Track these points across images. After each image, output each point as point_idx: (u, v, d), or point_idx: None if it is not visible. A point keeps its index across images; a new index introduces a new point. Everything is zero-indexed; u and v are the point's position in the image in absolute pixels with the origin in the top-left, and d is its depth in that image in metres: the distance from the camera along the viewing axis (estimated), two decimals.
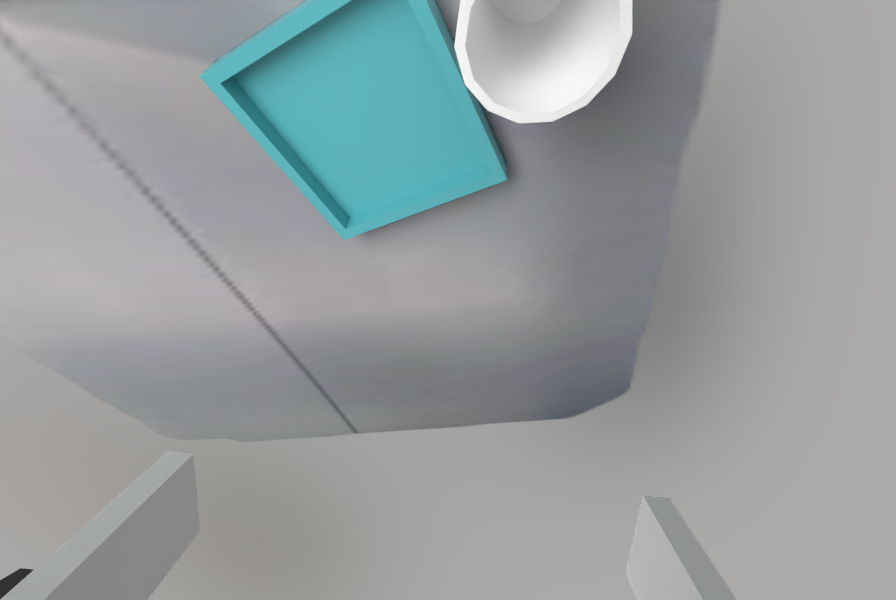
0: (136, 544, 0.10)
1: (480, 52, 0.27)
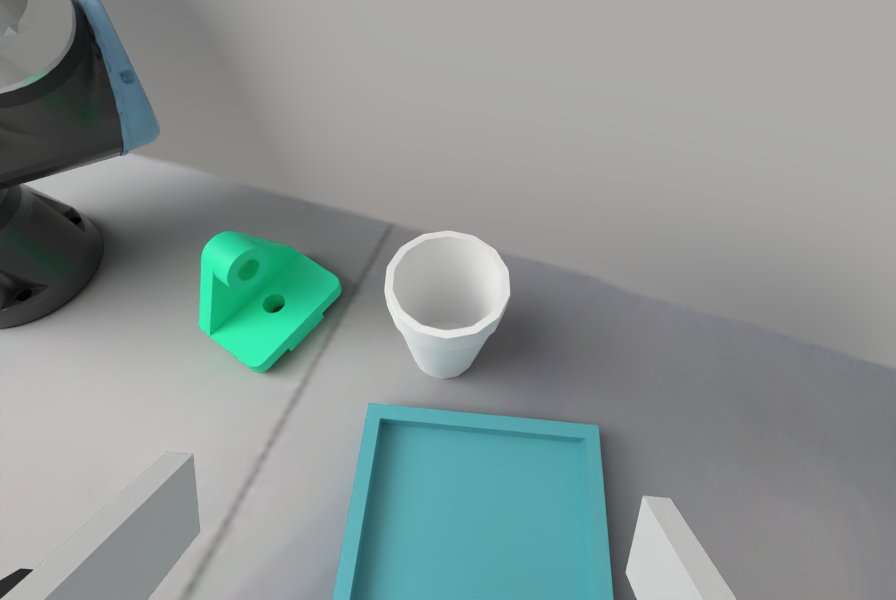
0: (136, 544, 0.10)
1: None
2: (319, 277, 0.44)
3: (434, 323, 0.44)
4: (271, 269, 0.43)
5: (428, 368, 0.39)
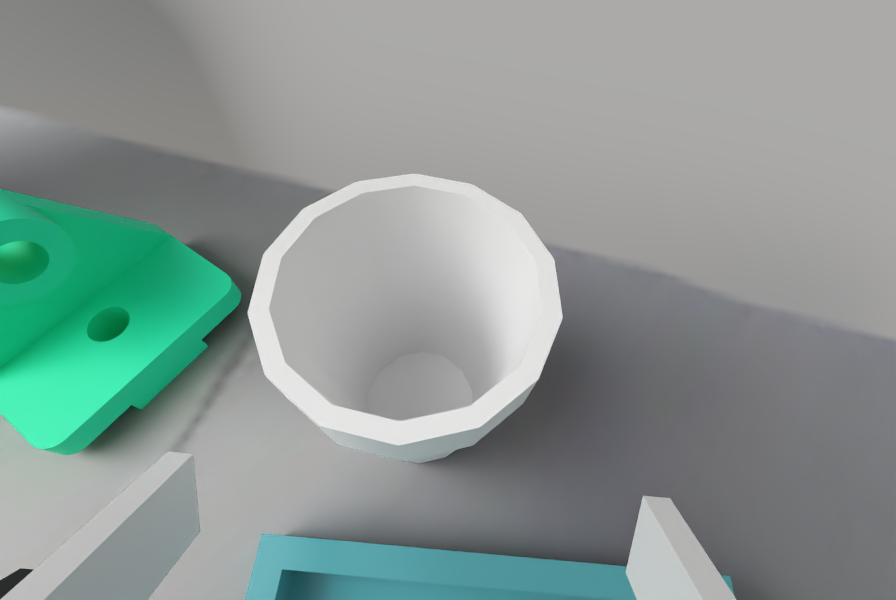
0: (136, 544, 0.10)
1: None
2: (198, 277, 0.25)
3: (404, 358, 0.25)
4: (107, 263, 0.24)
5: None
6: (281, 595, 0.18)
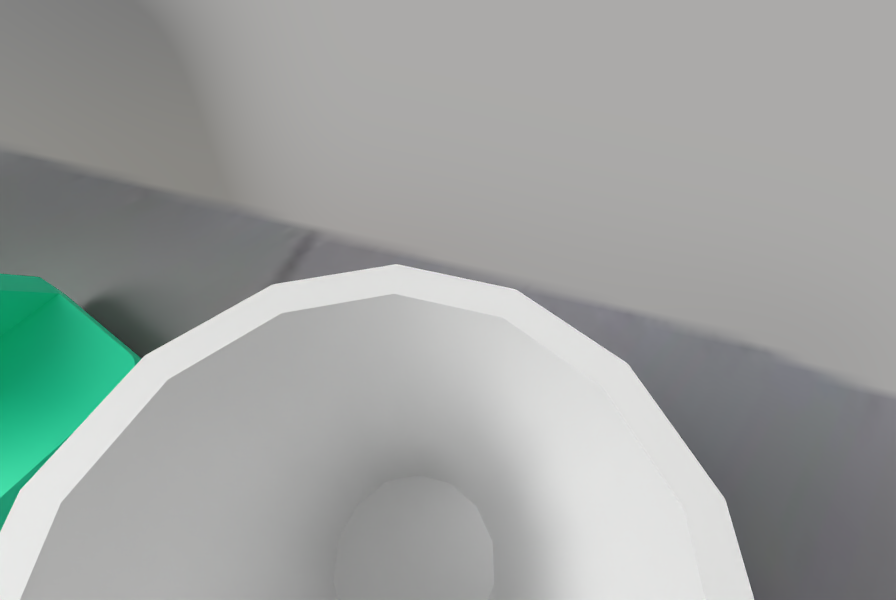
0: None
1: None
2: (87, 358, 0.18)
3: (391, 487, 0.17)
4: None
5: None
6: None
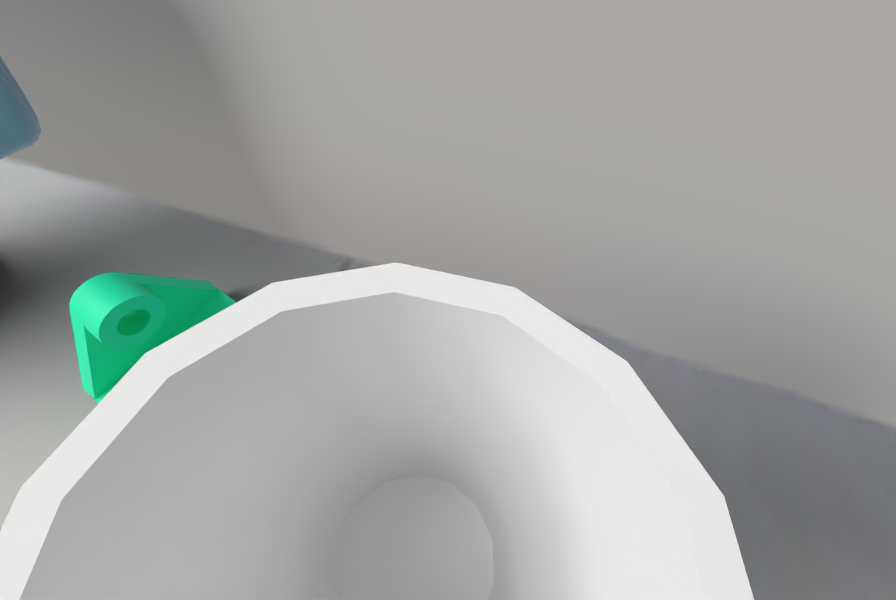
0: None
1: None
2: None
3: (391, 486, 0.17)
4: (178, 313, 0.35)
5: None
6: None
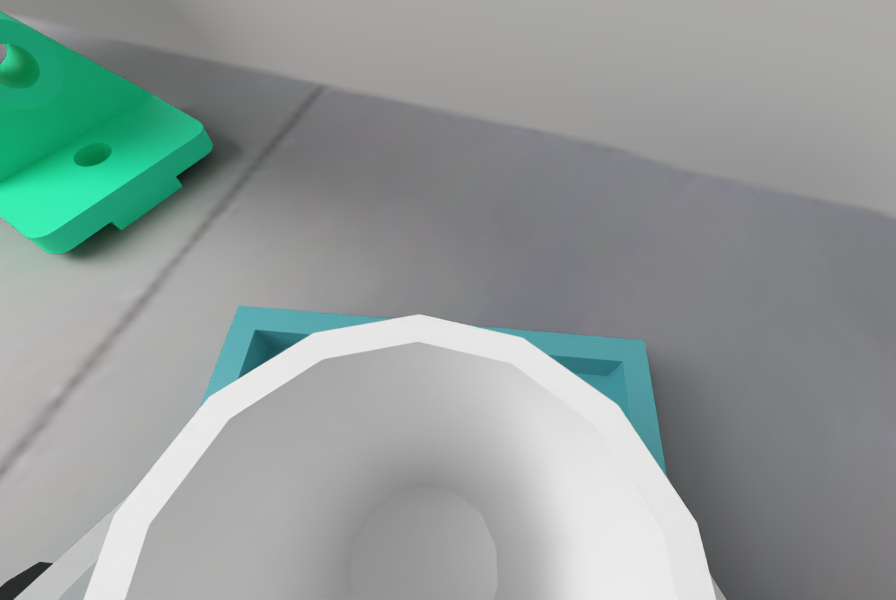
0: None
1: None
2: (173, 123, 0.29)
3: (401, 496, 0.18)
4: (92, 104, 0.28)
5: None
6: (254, 354, 0.21)
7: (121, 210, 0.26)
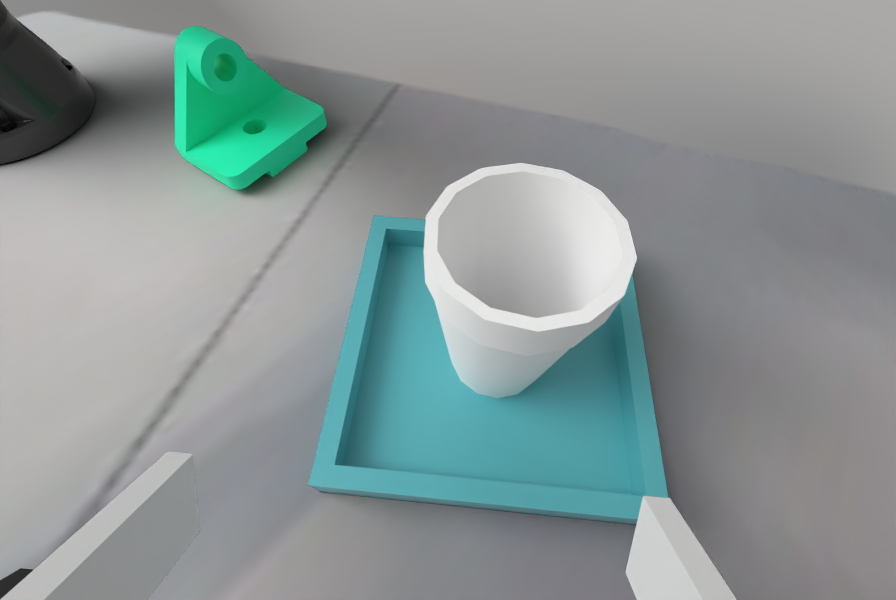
0: (136, 544, 0.10)
1: None
2: (303, 106, 0.42)
3: None
4: (252, 93, 0.41)
5: (480, 383, 0.26)
6: (385, 244, 0.33)
7: (275, 163, 0.40)
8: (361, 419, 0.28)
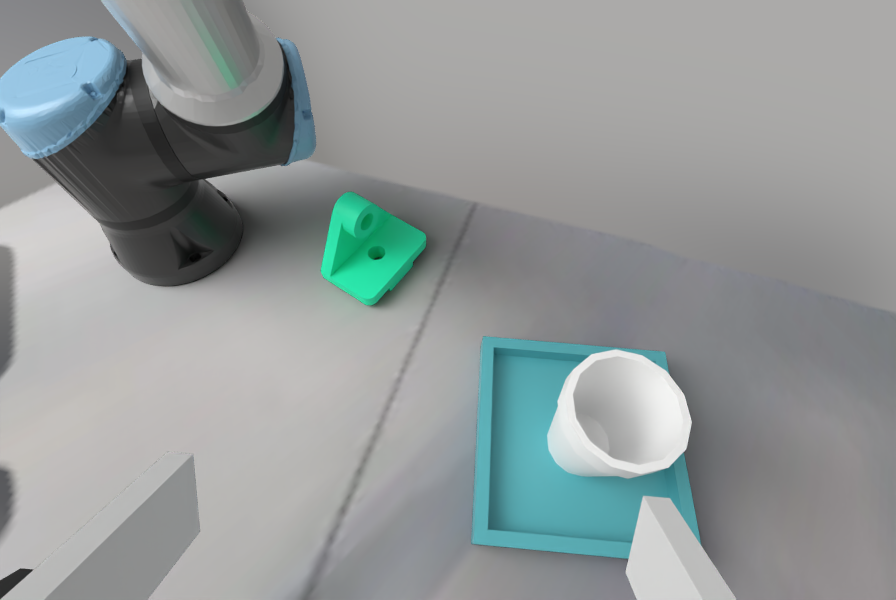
0: (136, 544, 0.10)
1: None
2: (409, 233, 0.55)
3: None
4: None
5: (577, 472, 0.39)
6: None
7: (393, 281, 0.53)
8: (493, 493, 0.41)
